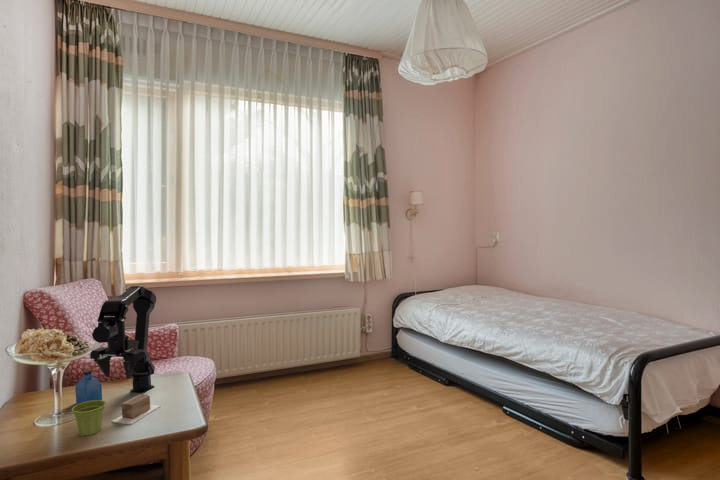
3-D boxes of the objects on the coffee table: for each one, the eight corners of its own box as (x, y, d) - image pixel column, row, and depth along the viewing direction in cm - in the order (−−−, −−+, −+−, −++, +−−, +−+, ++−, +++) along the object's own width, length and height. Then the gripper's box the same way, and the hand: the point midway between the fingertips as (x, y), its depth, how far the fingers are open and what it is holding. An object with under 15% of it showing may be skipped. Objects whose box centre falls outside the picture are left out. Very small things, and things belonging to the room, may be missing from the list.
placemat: (141, 405, 163) (141, 404, 162) (160, 406, 161) (160, 405, 160) (111, 422, 149) (111, 421, 149) (131, 424, 147) (131, 423, 147)
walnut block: (122, 417, 152) (121, 403, 151) (140, 407, 159) (139, 394, 159) (132, 419, 150) (131, 404, 150) (150, 409, 158) (149, 395, 158)
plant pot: (98, 422, 149) (97, 397, 149) (112, 429, 144) (111, 403, 143) (68, 433, 142) (66, 407, 141) (81, 441, 136) (79, 414, 136)
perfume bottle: (76, 403, 166) (74, 372, 165) (92, 396, 172) (90, 366, 171) (85, 405, 163) (84, 374, 163) (102, 399, 169) (100, 369, 168)
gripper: (153, 330, 163) (155, 371, 164) (112, 328, 168) (114, 368, 168) (131, 338, 152) (133, 382, 153) (87, 336, 157) (90, 378, 158)
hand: (118, 377), depth 158 cm, fingers open, 9 cm apart
